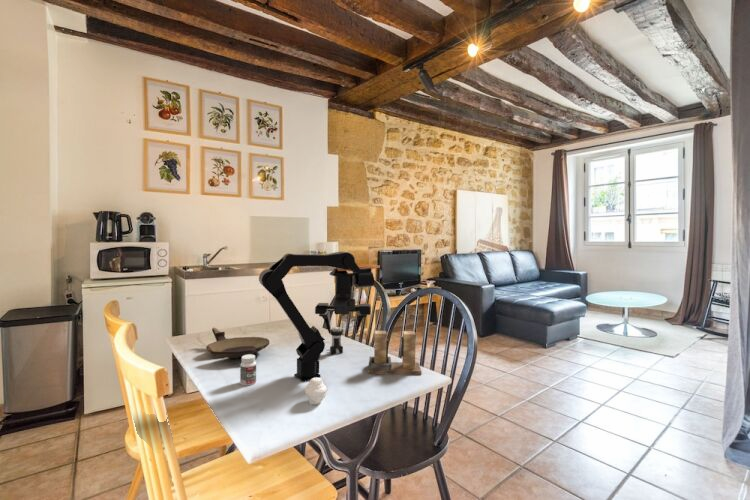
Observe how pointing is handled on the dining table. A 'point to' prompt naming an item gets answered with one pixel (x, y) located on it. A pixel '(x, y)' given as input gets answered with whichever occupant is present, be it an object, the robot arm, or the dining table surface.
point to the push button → (336, 341)
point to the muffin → (315, 391)
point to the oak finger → (380, 347)
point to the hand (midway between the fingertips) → (343, 333)
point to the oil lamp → (235, 345)
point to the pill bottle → (248, 370)
